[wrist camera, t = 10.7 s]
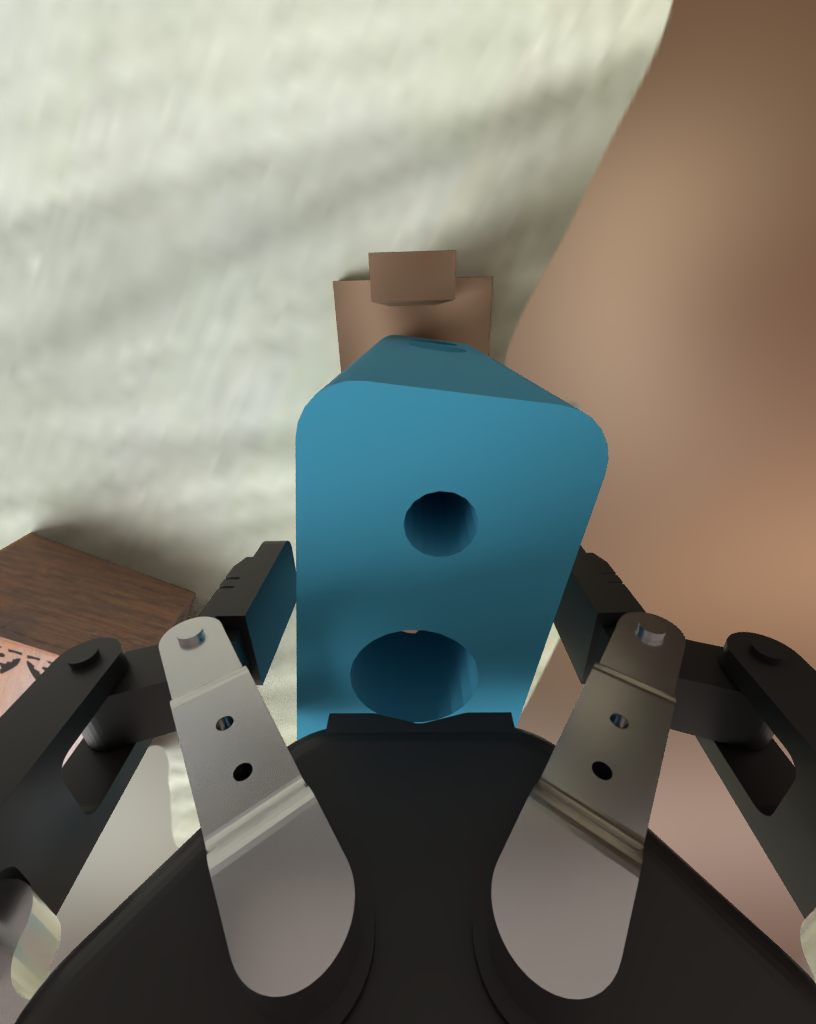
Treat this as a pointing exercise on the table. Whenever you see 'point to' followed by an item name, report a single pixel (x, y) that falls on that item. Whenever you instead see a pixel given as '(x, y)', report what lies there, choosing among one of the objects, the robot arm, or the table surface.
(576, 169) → the table surface
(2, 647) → the tissue box cover
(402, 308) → the peg stand
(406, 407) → the block
